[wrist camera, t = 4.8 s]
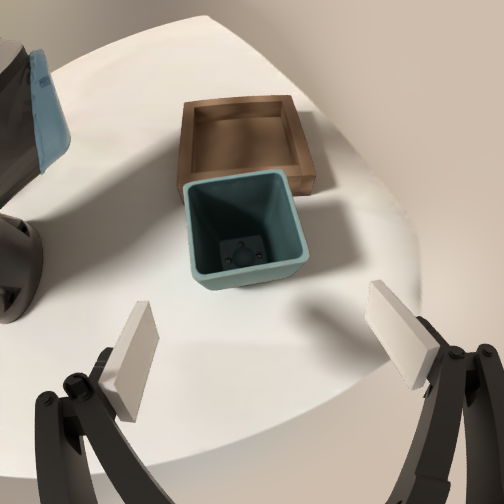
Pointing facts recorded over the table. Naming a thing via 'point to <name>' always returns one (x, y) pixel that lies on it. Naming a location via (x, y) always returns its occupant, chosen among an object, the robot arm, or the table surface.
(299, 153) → the wooden tray
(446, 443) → the robot arm
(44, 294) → the table surface
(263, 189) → the flower pot
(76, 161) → the table surface
